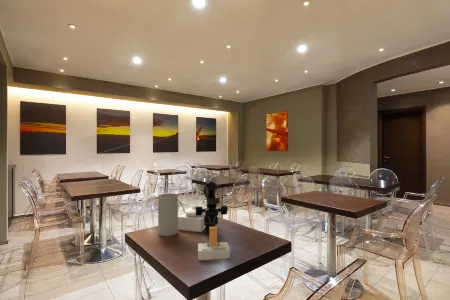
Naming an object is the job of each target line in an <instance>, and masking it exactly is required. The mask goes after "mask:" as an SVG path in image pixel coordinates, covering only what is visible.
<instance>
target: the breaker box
mask: <svg viewBox="0 0 450 300" xmlns="http://www.w3.org/2000/svg"><path fill="white" fill-rule="evenodd" d="M226 258H230V259H231V249H230V245H229V243H228V241H221V242H220V241H217V245H210V244H209V241H207V242H203V243H199V242H198V243H197V261H213V259H215V260H227V259H226Z"/></svg>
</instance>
